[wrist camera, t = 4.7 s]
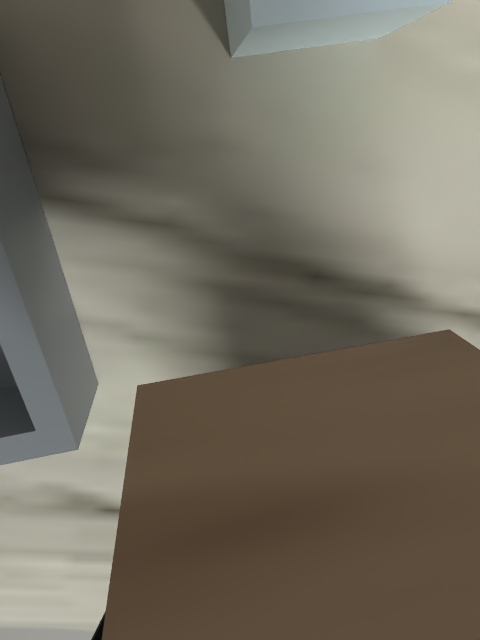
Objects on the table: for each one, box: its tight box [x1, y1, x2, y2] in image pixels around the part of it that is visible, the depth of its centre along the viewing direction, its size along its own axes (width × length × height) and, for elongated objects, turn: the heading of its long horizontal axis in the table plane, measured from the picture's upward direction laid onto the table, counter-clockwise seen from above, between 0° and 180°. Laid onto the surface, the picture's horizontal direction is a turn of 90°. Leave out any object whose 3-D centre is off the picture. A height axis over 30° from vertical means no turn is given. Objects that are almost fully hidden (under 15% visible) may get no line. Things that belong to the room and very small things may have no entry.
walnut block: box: [102, 330, 480, 640], centre depth 6 cm, size 6×6×6 cm
